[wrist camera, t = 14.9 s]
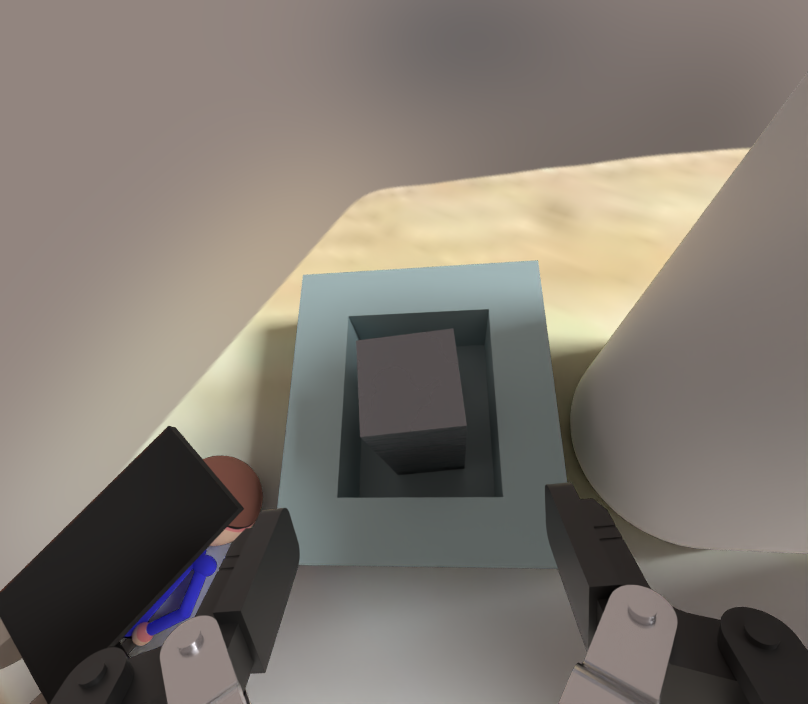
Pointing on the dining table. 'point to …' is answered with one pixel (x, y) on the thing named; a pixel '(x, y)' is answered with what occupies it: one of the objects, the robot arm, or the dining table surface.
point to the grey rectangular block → (412, 401)
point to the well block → (484, 408)
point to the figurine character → (125, 560)
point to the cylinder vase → (715, 369)
